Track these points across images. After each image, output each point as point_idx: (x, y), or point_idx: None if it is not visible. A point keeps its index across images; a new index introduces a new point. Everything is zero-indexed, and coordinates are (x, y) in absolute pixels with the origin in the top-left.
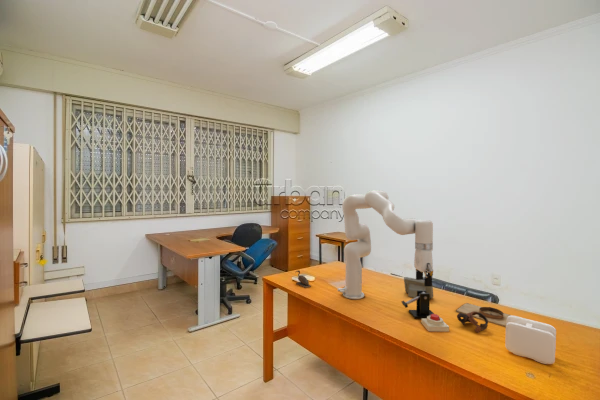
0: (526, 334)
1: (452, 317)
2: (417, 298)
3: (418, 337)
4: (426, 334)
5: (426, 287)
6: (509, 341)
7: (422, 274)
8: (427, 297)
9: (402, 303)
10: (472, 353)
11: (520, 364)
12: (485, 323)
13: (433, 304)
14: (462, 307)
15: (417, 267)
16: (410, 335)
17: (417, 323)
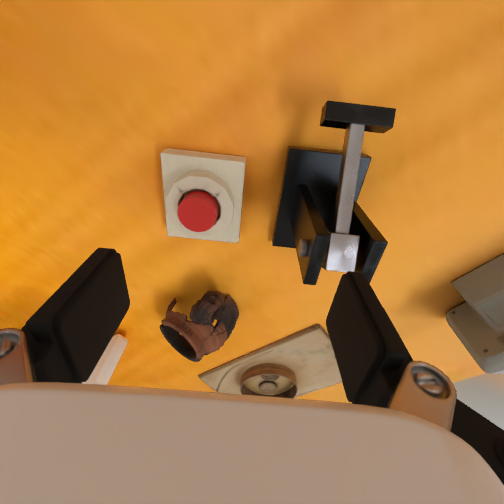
0: None
1: (280, 293)
2: (336, 209)
3: (98, 60)
4: (137, 121)
5: (489, 334)
6: None
7: (342, 370)
8: (302, 259)
9: (377, 110)
10: (31, 215)
11: (18, 293)
12: (167, 338)
13: (398, 293)
14: (330, 351)
15: (212, 468)
16: (111, 20)
17: (242, 135)
